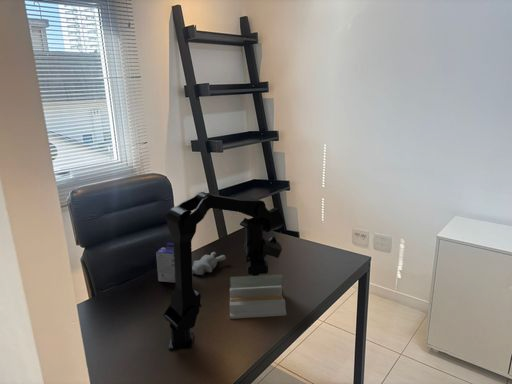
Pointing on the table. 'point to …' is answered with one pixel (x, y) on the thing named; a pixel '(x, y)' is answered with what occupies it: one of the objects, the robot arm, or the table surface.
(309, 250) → the table surface
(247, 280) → the duct cover
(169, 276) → the ink cartridge box
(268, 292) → the base
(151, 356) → the table surface
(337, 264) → the table surface
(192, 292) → the robot arm
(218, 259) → the bunny figurine
